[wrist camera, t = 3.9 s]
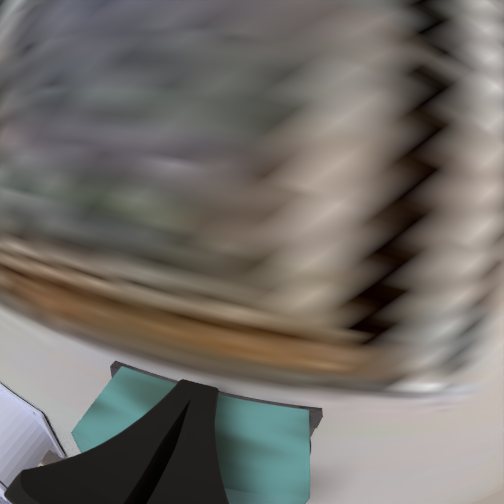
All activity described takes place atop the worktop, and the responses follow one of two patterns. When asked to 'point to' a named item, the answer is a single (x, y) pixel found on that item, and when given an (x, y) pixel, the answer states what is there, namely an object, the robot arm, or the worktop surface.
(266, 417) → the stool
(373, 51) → the worktop surface
